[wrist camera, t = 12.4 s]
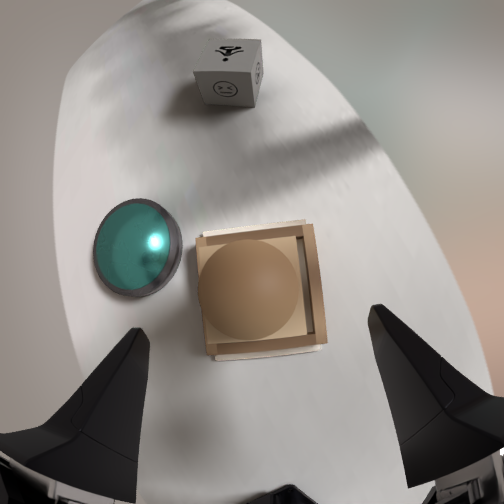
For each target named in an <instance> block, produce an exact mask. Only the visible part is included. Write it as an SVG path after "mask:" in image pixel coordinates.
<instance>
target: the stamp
mask: <svg viewBox="0 0 504 504" xmlns="http://www.w3.org/2000/svg"><path fill="white" fill-rule="evenodd" d="M199 257H200V270H201V274H200V277H199V282H198V298H199V303H200V306H201V309H202V311H203V313H204V315H205V323H206V332H207V341H208V344H216V343H232V342H245V341H256V340H266V339H276V338H285V337H293V336H301V335H307V329H306V319H305V309H304V300H303V291H302V282H301V273H300V265H299V257H298V250H297V242H296V236H290V237H281V238H272V239H264V240H250V239H247V240H238V241H234V242H231V243H229V244H221V245H213V246H205V247H199Z"/></svg>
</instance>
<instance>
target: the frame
mask: <svg viewBox="0 0 504 504" xmlns="http://www.w3.org/2000/svg"><path fill="white" fill-rule="evenodd" d="M290 236H296V242H297V250H298V257H299V265H300V273H301V282H302V291H303V300H304V309H305V319H306V329H307V335H301V336H293V337H285V338H276V339H266V340H256V341H245V342H232V343H216V344H208V341H207V332H206V323H205V315H204V313H203V311H202V318H203V327H204V336H205V344H206V352H207V355H215V360H216V361H222V360H238V359H251V358H262V357H272V356H281V355H289V354H297V353H304V352H311V351H318V350H321V344H325V343H328V342H327V331H326V320H325V311H324V302H323V293H322V284H321V277H320V269H319V261H318V254H317V247H316V241H315V234H314V228H313V224H306V219H304V220H295V221H286V222H277V223H269V224H261V225H253V226H245V227H237V228H229V229H221V230H214V231H206V232H203V237H199V238H196V252H197V265H198V277H200V274H201V270H200V257H199V247H205V246H213V245H221V244H229V243H231V242H234V241H238V240H247V239H250V240H264V239H272V238H281V237H290Z"/></svg>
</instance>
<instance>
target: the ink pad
mask: <svg viewBox="0 0 504 504" xmlns="http://www.w3.org/2000/svg"><path fill="white" fill-rule="evenodd" d="M181 255H182V236H181V232H180V229H179V226H178V224H177V222H176V221H175V219H174V218H173V217H172V215H171V214H170V213H169V212H167V211H166V210H165V209H164V208H163V207H161V206H160V205H159V204H157V203H156V202H153V201H151V200H147V199H141V198H140V199H131V200H128V201H125V202H123V203H121V204H119V205H117V206H116V207H114V208H113V209H112V210H111V211H110V212H109V213H108V214H107V215H106V216H105V218H104V219H103V221H102V222H101V224H100V226H99V228H98V230H97V233H96V236H95V240H94V247H93V256H94V263H95V267H96V270H97V272H98V275H99V277H100V278H101V280H102V281H103V282H104V284H105V285H106V286H107V287H108V288H109V289H111V290H112V291H114V292H116V293H118V294H121V295H125V296H146V295H150V294H153V293H155V292H157V291H159V290H160V289H162V288H163V287H164V286H165V285H166V284H167V283H168V282H169V281H170V280H171V279H172V277H173V276H174V274H175V273H176V271H177V268H178V266H179V263H180V260H181Z"/></svg>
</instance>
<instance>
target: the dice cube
mask: <svg viewBox="0 0 504 504" xmlns="http://www.w3.org/2000/svg"><path fill="white" fill-rule="evenodd" d="M193 73H194V76H195V79H196V82H197V84H198V87H199V90H200V93H201V95H202V98H203V101H204V104H211V105H232V106H246V107H255V105H256V101H257V97H258V93H259V89H260V85H261V81H262V77H263V60H262V47H261V40H258V39H209V40H208V41H207V43H206V45H205V47H204V49H203V51H202V53H201V55H200V57H199V59H198V61H197V63H196V66H195V68H194V70H193Z"/></svg>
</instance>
